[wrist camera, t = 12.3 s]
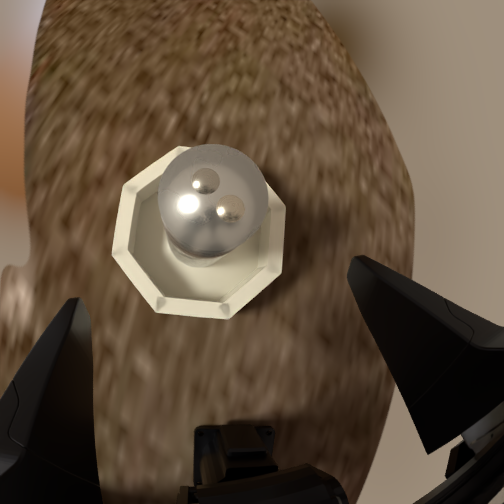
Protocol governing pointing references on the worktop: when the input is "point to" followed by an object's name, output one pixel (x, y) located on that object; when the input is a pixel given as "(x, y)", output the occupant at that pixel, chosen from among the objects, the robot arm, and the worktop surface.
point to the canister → (210, 203)
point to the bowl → (185, 277)
